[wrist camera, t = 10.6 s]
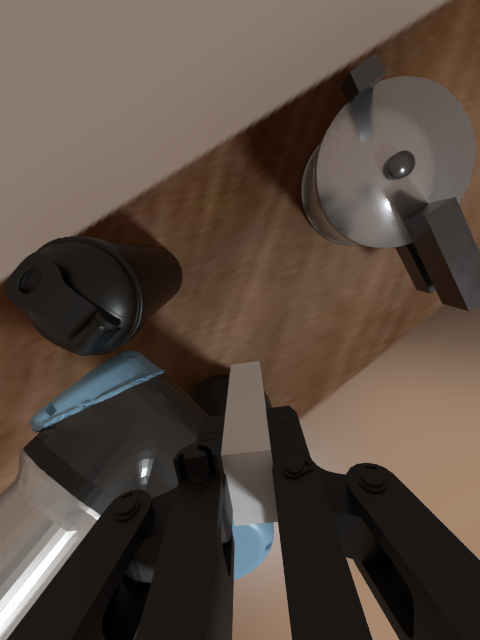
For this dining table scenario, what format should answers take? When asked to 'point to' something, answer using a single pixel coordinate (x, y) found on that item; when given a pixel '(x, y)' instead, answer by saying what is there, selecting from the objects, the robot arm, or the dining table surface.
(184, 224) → the dining table surface
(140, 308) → the water bottle
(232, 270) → the dining table surface
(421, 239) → the lid
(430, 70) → the dining table surface
